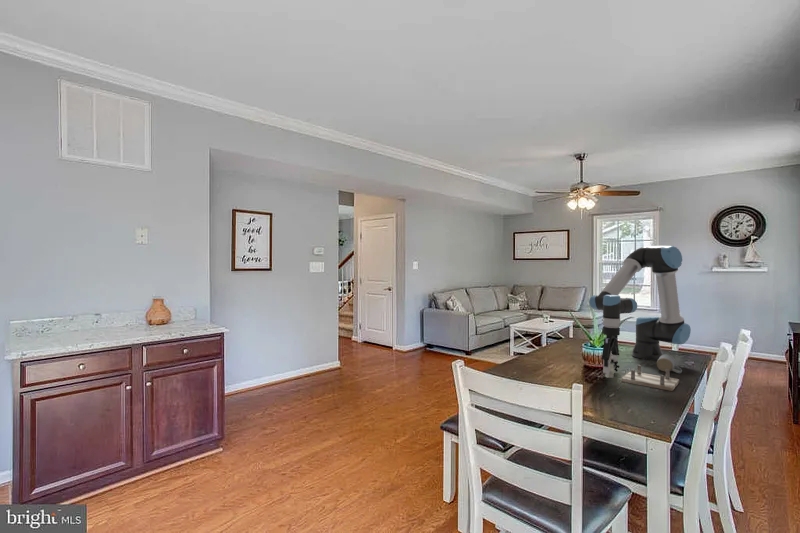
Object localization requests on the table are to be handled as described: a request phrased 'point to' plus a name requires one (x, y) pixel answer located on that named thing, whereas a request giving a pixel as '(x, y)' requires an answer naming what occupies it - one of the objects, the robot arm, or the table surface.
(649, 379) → the peg board
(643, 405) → the table surface
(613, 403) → the table surface
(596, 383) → the table surface
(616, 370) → the valve
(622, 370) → the table surface
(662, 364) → the ceramic mug
